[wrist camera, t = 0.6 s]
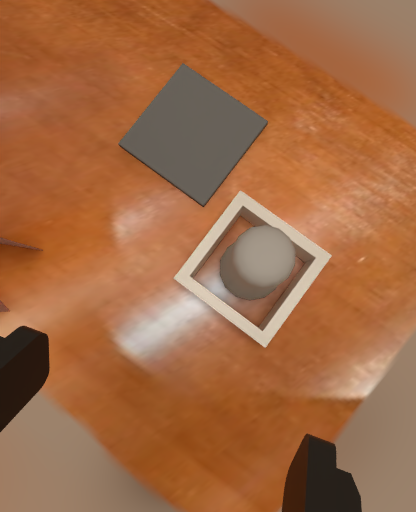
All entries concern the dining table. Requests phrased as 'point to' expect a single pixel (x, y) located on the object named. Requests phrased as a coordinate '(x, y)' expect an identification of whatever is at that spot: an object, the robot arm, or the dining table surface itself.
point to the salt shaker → (257, 262)
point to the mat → (193, 134)
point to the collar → (291, 296)
